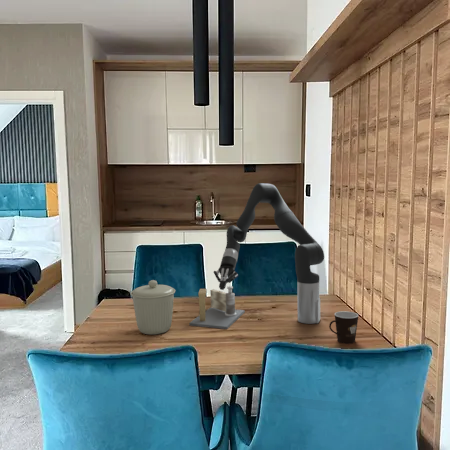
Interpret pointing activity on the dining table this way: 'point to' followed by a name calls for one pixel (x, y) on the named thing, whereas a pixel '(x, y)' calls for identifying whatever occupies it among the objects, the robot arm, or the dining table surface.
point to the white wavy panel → (223, 301)
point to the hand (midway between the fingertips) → (221, 288)
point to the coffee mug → (345, 326)
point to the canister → (153, 307)
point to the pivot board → (218, 317)
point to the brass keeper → (202, 304)
